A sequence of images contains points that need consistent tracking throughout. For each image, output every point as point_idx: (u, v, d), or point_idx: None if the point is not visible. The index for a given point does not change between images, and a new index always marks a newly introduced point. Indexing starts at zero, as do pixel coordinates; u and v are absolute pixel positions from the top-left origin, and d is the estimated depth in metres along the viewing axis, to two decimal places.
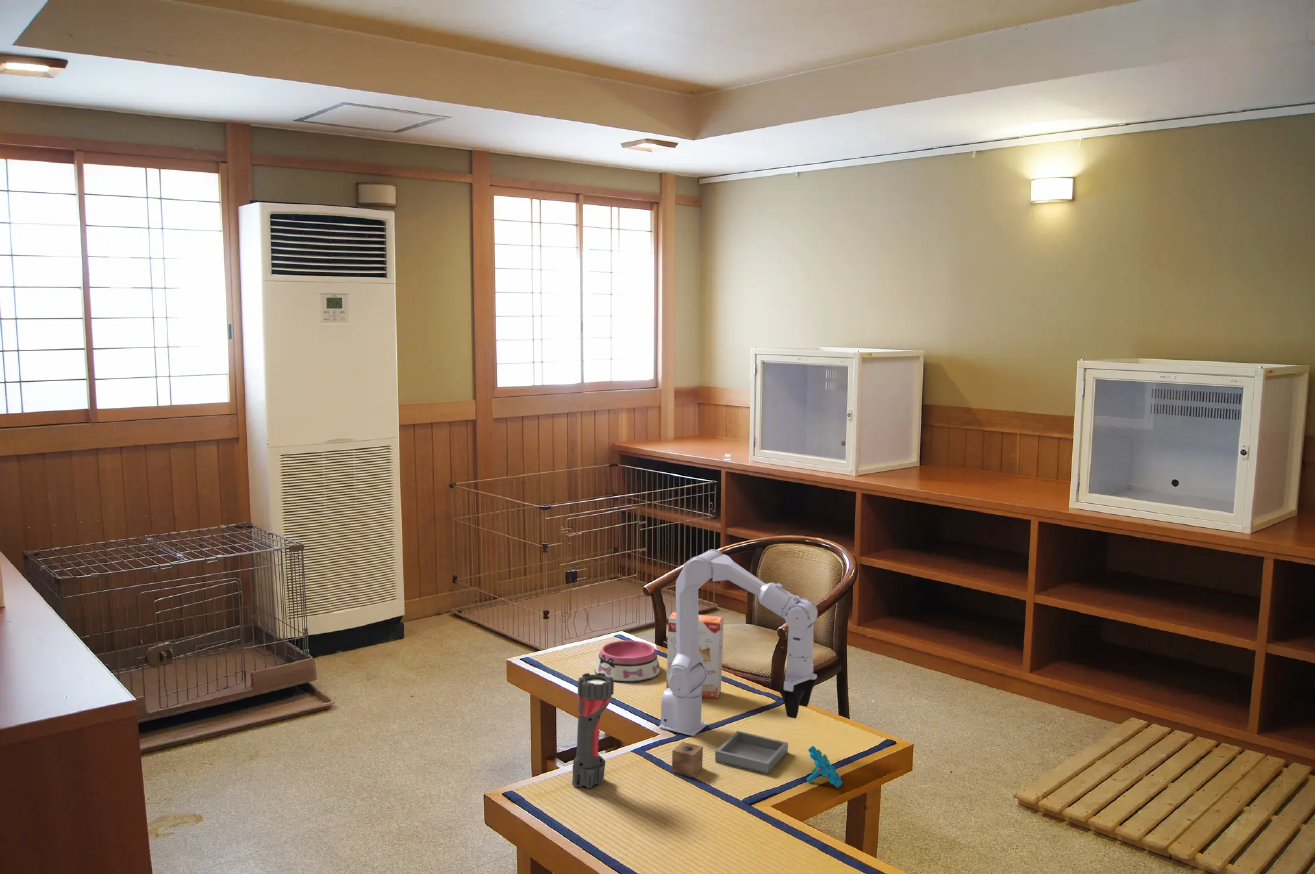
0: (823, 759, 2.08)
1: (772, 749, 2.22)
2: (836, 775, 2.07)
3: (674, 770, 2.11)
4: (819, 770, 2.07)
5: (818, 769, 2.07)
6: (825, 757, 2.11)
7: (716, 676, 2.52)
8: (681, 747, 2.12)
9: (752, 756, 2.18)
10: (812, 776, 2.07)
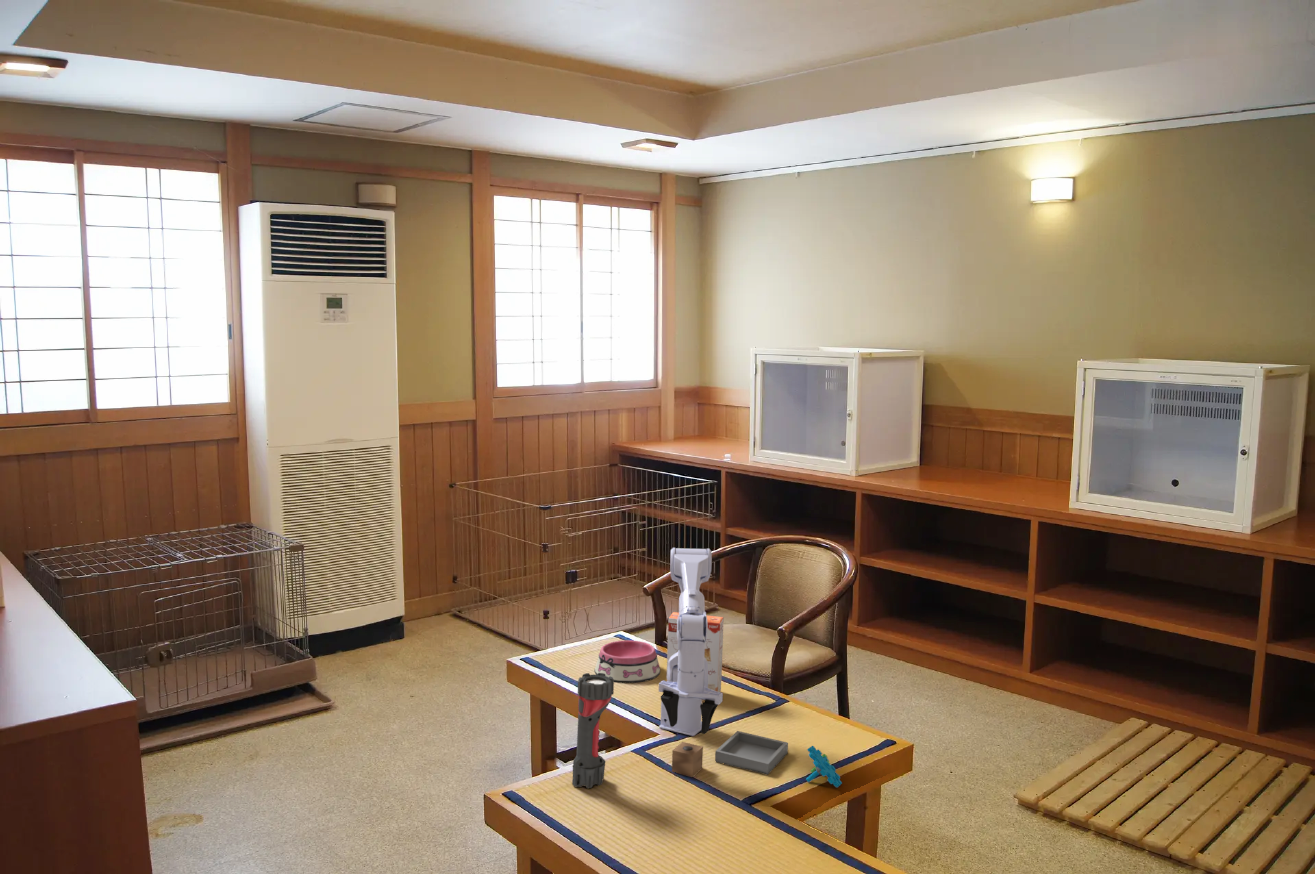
0: (823, 759, 2.09)
1: (772, 749, 2.22)
2: (835, 775, 2.07)
3: (674, 770, 2.11)
4: (818, 770, 2.07)
5: (817, 769, 2.07)
6: (825, 757, 2.11)
7: (716, 676, 2.52)
8: (681, 747, 2.12)
9: (752, 756, 2.18)
10: (811, 776, 2.07)
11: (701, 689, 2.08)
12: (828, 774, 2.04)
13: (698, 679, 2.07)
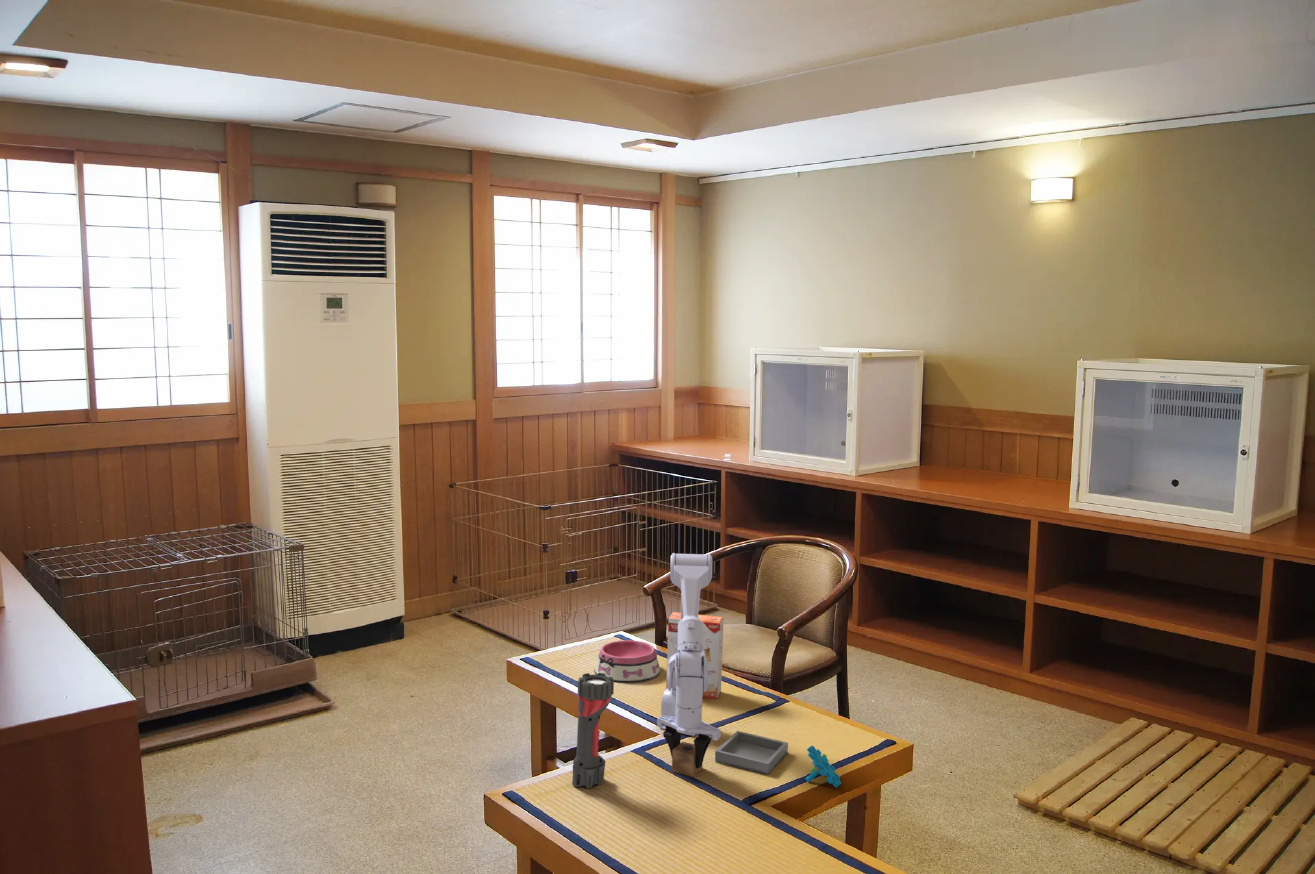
0: (822, 759, 2.09)
1: (772, 749, 2.22)
2: (835, 775, 2.07)
3: (674, 770, 2.11)
4: (818, 770, 2.07)
5: (817, 769, 2.07)
6: (824, 757, 2.11)
7: (716, 676, 2.52)
8: (681, 747, 2.12)
9: (752, 756, 2.18)
10: (811, 776, 2.07)
11: (699, 725, 2.09)
12: (827, 774, 2.04)
13: (696, 715, 2.08)
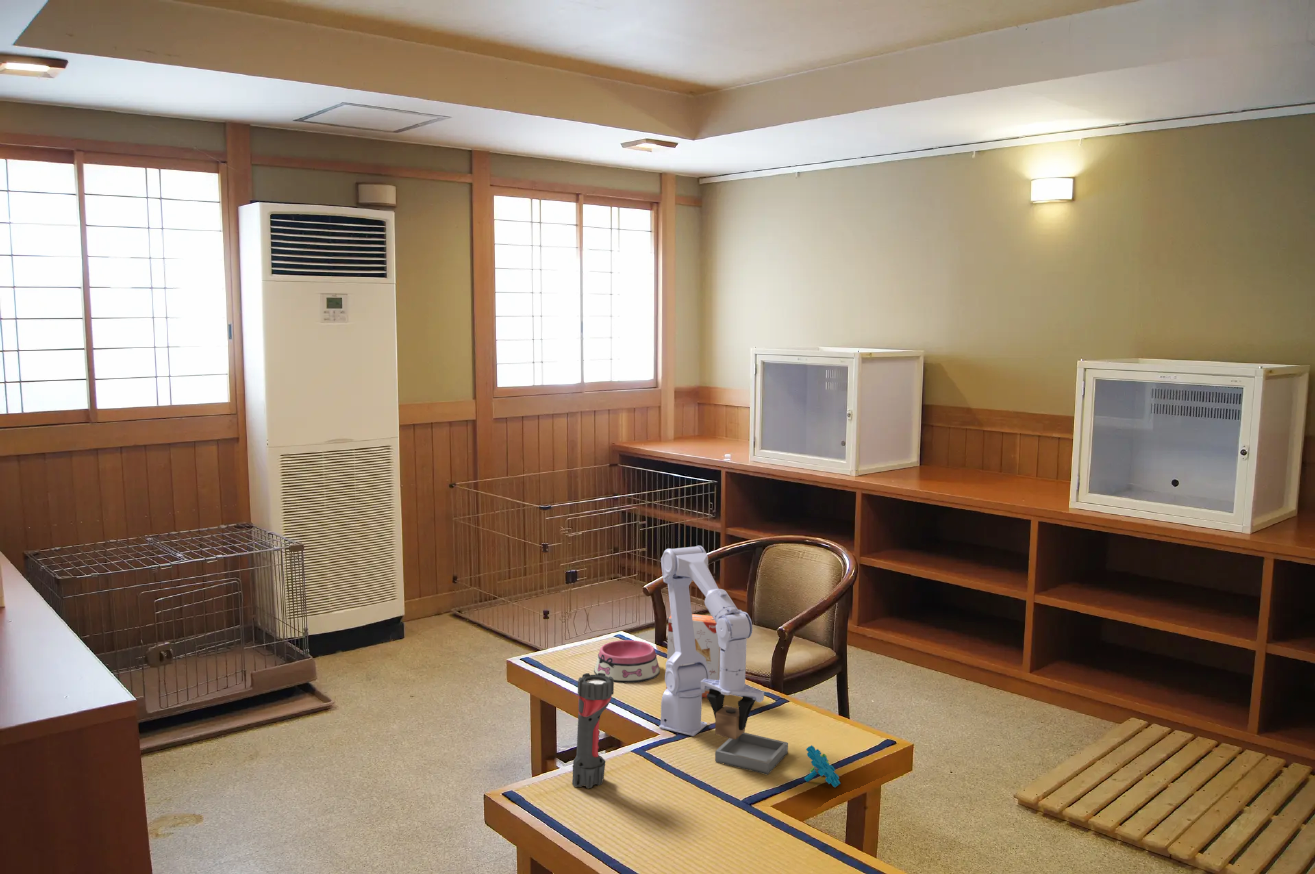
0: (821, 759, 2.09)
1: (772, 749, 2.22)
2: (834, 775, 2.07)
3: (717, 732, 2.14)
4: (817, 769, 2.07)
5: (816, 768, 2.07)
6: (824, 757, 2.11)
7: (716, 676, 2.52)
8: (724, 710, 2.15)
9: (752, 756, 2.18)
10: (810, 775, 2.07)
11: (743, 687, 2.13)
12: (826, 774, 2.05)
13: (740, 678, 2.12)
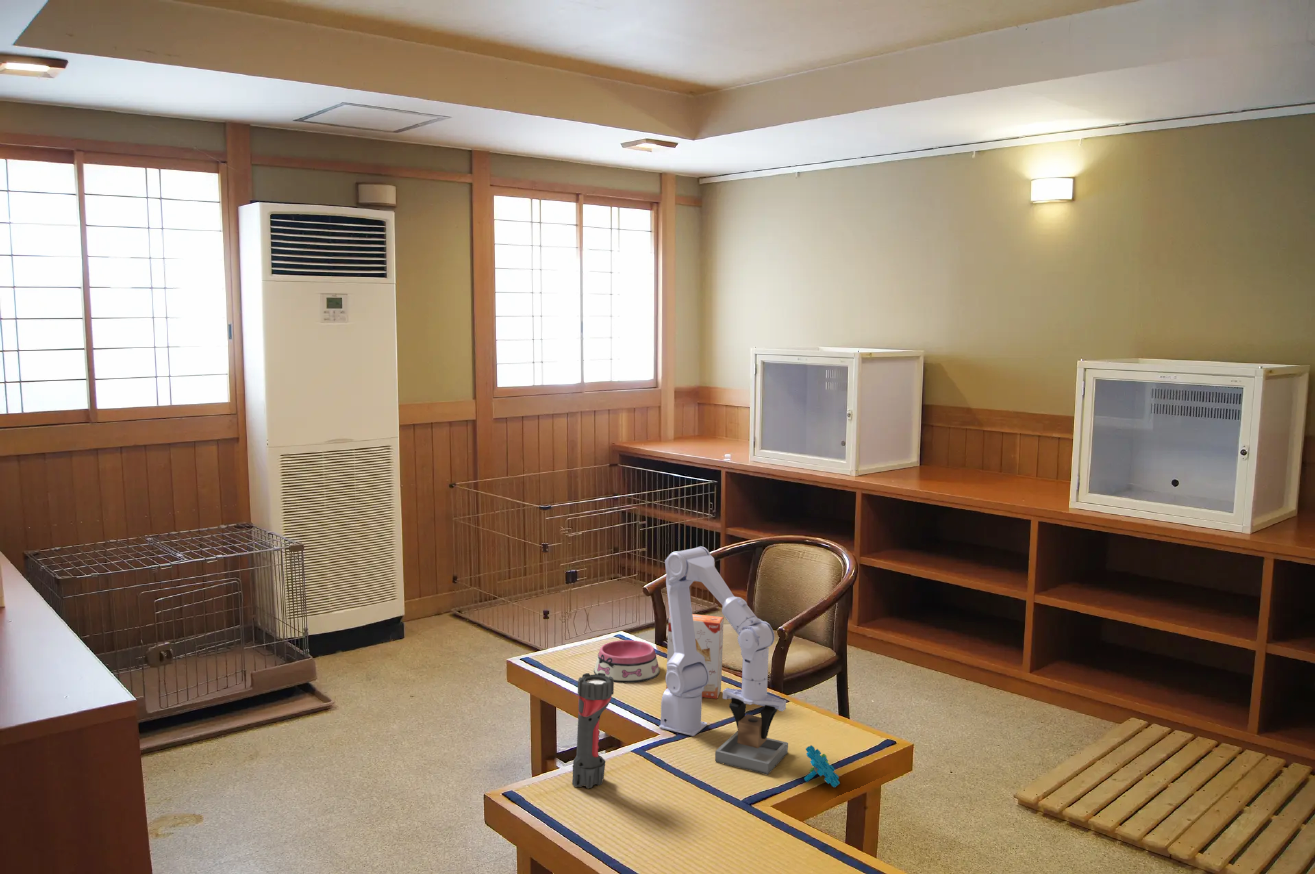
0: (821, 759, 2.09)
1: (772, 749, 2.22)
2: (834, 775, 2.07)
3: (740, 741, 2.17)
4: (816, 769, 2.07)
5: (815, 768, 2.07)
6: (824, 757, 2.11)
7: (716, 676, 2.52)
8: (746, 719, 2.18)
9: (752, 756, 2.18)
10: (809, 775, 2.07)
11: (765, 696, 2.16)
12: (825, 774, 2.05)
13: (762, 687, 2.15)
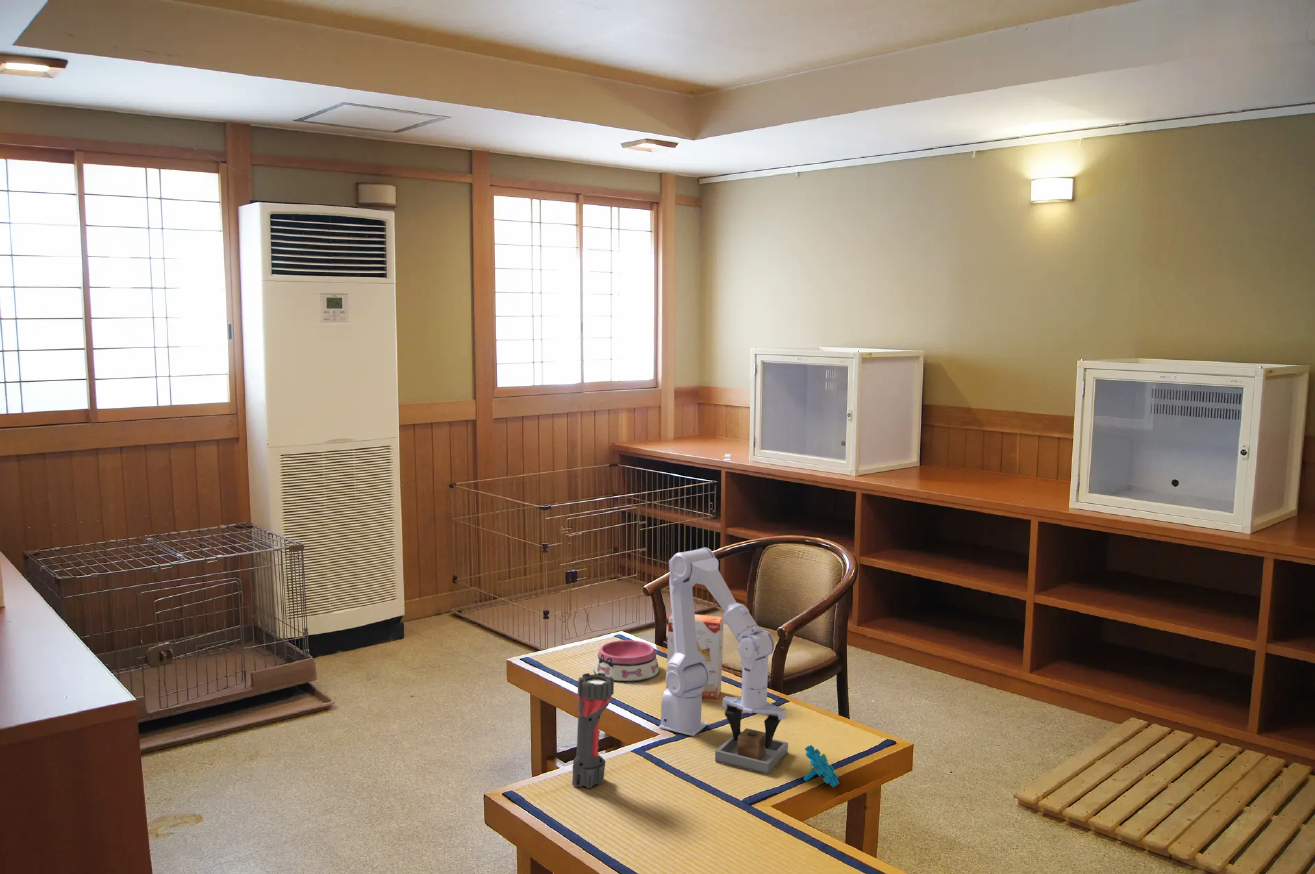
0: (820, 758, 2.09)
1: (772, 749, 2.22)
2: (833, 775, 2.07)
3: None
4: (816, 769, 2.07)
5: (815, 768, 2.07)
6: (823, 757, 2.11)
7: (716, 676, 2.52)
8: (746, 733, 2.19)
9: None
10: (809, 775, 2.08)
11: (764, 705, 2.16)
12: (825, 774, 2.05)
13: (762, 696, 2.15)
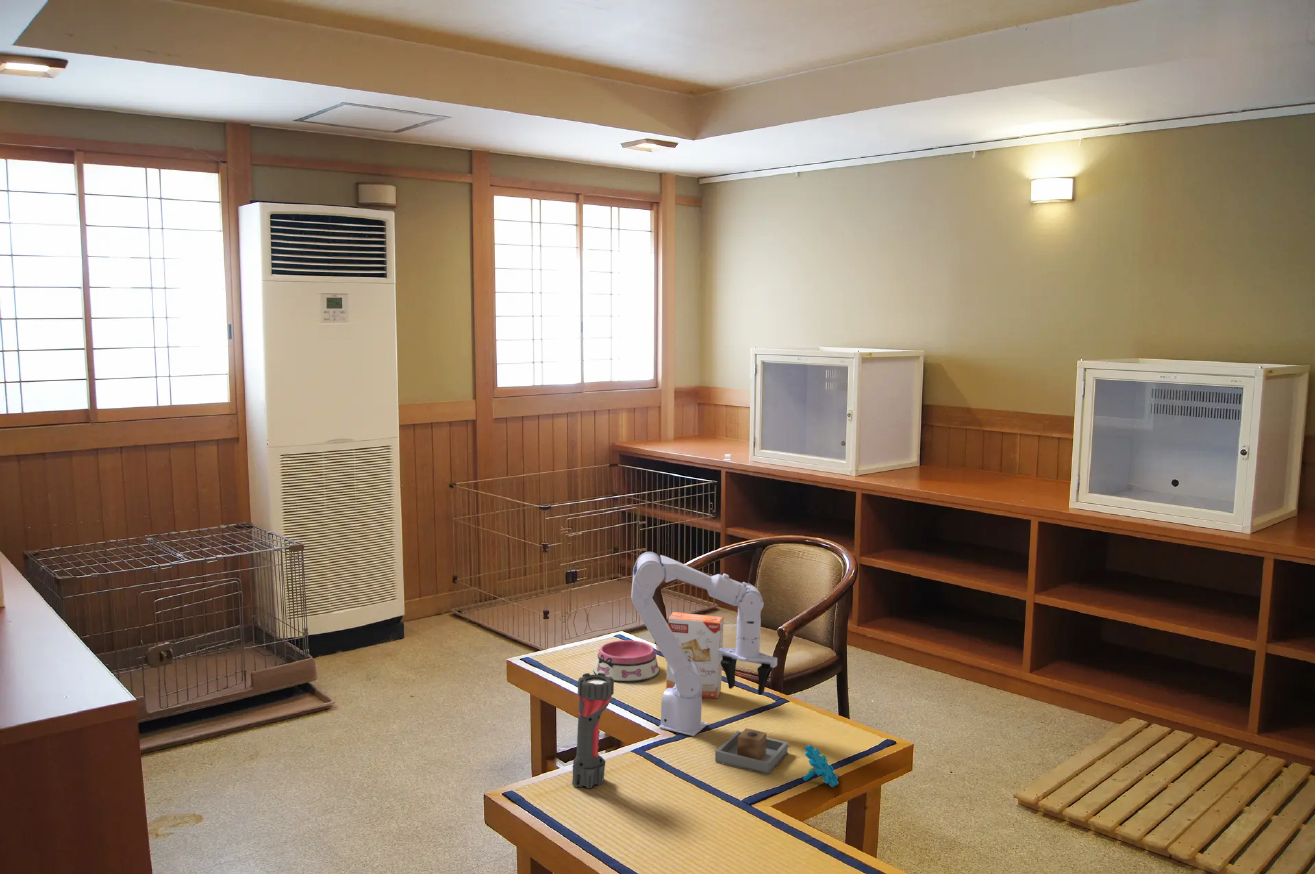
0: (820, 758, 2.09)
1: (772, 749, 2.22)
2: (832, 775, 2.07)
3: None
4: (815, 769, 2.07)
5: (814, 768, 2.07)
6: (823, 757, 2.11)
7: (716, 676, 2.52)
8: (746, 733, 2.19)
9: None
10: (808, 775, 2.08)
11: (758, 654, 2.31)
12: (824, 773, 2.05)
13: (755, 645, 2.30)
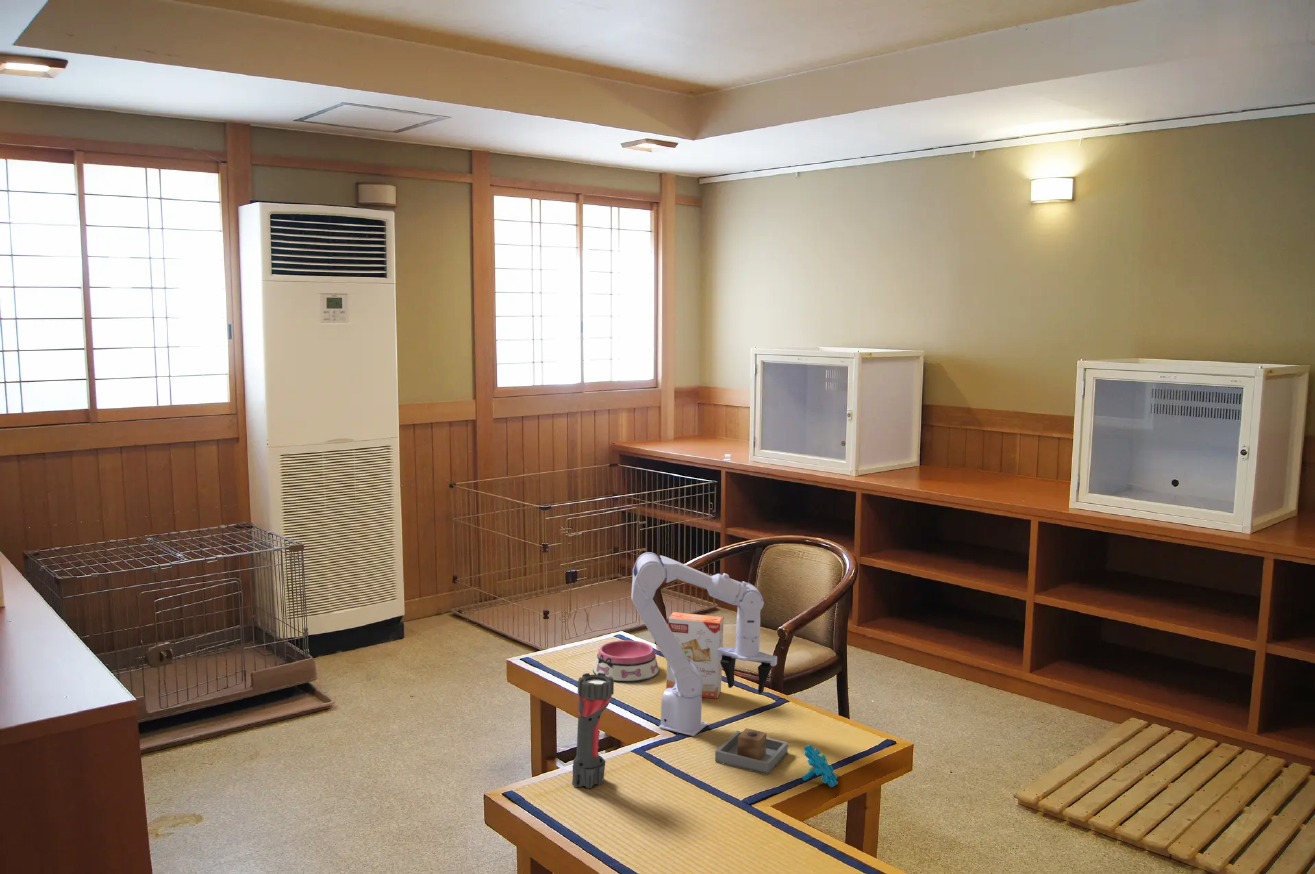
0: (819, 758, 2.09)
1: (772, 749, 2.22)
2: (832, 775, 2.07)
3: None
4: (814, 769, 2.07)
5: (813, 768, 2.07)
6: (823, 756, 2.11)
7: (716, 676, 2.52)
8: (746, 733, 2.19)
9: None
10: (807, 774, 2.08)
11: (757, 653, 2.32)
12: (823, 773, 2.05)
13: (755, 644, 2.31)
